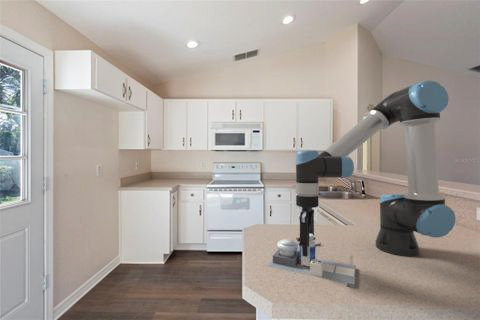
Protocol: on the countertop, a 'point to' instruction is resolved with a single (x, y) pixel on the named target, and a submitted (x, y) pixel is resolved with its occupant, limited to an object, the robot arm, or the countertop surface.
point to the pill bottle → (312, 248)
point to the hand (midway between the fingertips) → (307, 261)
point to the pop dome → (287, 247)
